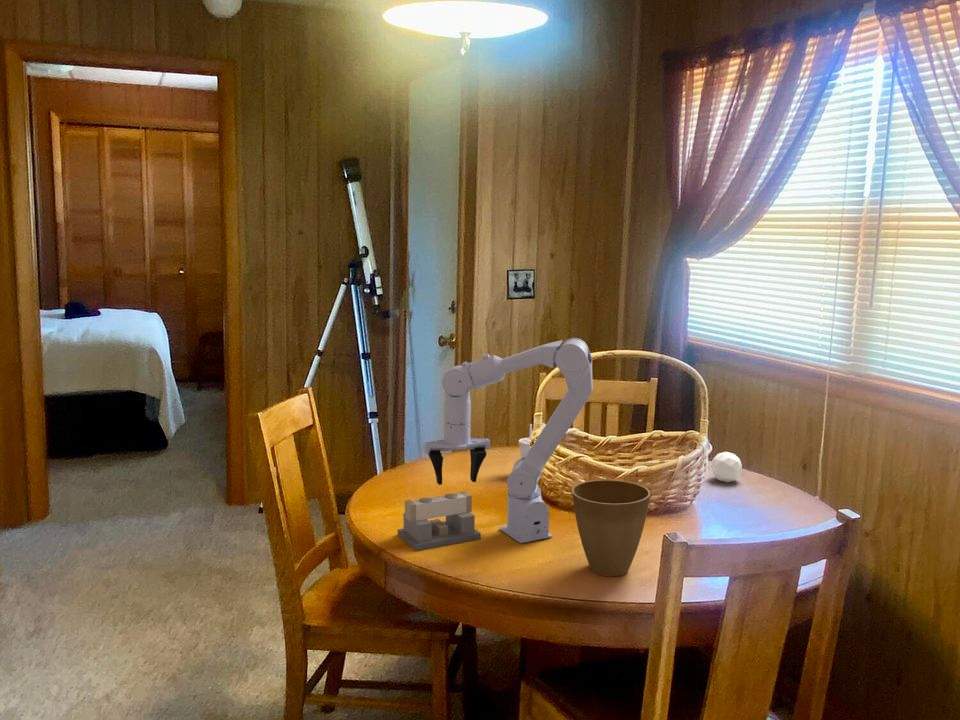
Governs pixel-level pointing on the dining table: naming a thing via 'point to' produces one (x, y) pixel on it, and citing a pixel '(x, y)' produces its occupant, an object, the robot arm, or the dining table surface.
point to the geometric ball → (726, 467)
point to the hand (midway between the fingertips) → (456, 482)
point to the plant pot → (610, 522)
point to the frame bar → (438, 506)
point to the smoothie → (525, 444)
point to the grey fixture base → (439, 531)
